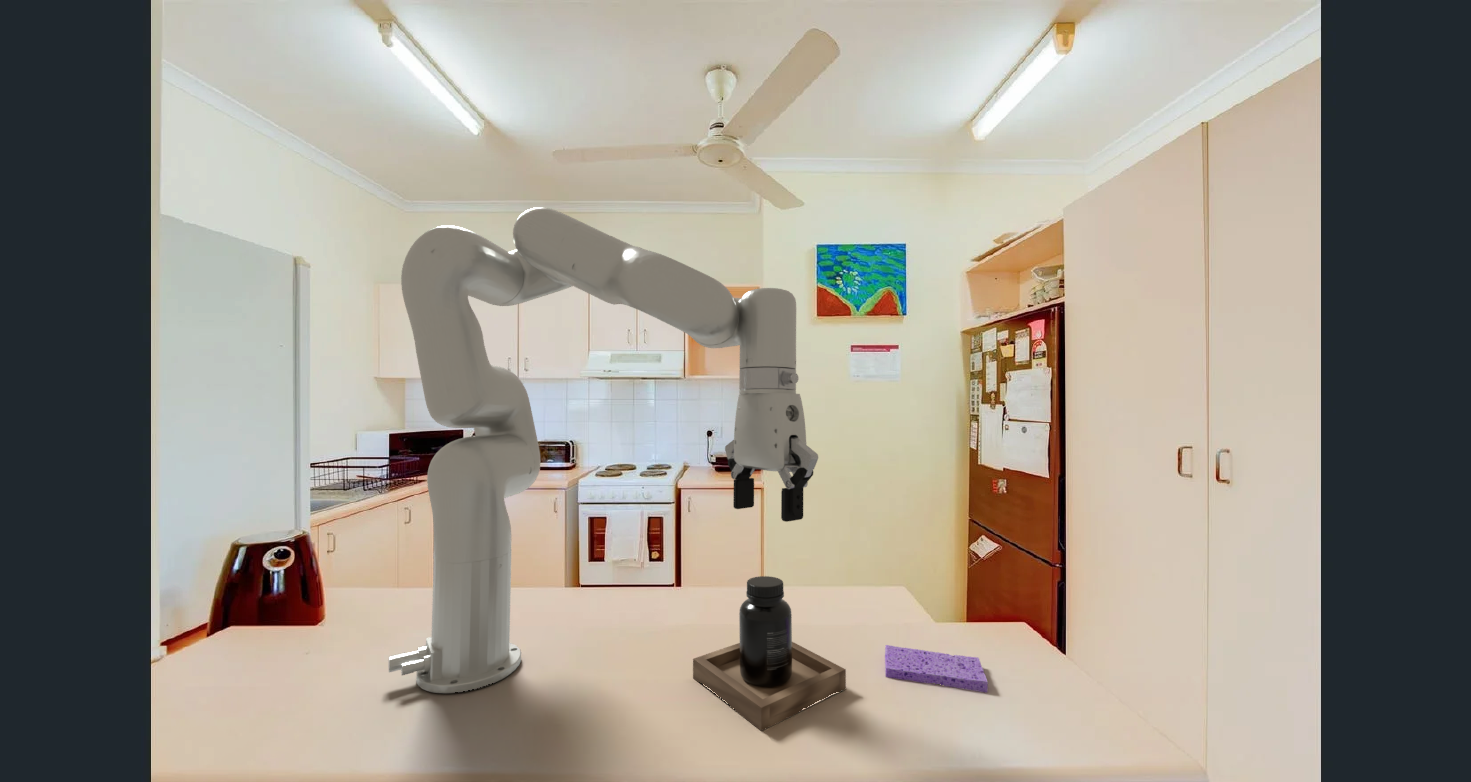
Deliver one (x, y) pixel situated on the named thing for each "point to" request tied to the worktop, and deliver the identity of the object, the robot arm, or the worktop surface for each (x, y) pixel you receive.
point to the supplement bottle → (765, 633)
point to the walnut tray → (769, 703)
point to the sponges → (935, 668)
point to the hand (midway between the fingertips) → (766, 513)
